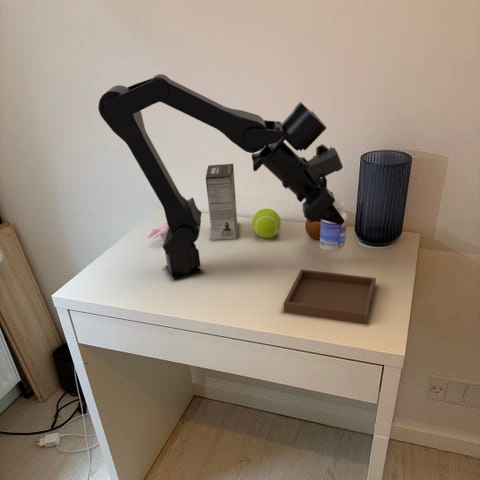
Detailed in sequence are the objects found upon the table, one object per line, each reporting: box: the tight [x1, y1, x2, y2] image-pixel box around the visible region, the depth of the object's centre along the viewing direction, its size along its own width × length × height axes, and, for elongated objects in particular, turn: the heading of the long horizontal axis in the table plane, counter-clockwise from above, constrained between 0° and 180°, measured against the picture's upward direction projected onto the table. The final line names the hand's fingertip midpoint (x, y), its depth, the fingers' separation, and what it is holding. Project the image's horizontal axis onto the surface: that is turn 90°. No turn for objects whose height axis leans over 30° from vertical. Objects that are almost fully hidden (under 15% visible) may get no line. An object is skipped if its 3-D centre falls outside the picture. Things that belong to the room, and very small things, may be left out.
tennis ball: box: [251, 208, 282, 239], centre depth 119 cm, size 7×7×7 cm
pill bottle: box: [319, 199, 348, 252], centre depth 103 cm, size 5×5×10 cm
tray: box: [283, 268, 377, 325], centre depth 95 cm, size 15×13×2 cm
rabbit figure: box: [147, 222, 169, 240], centre depth 122 cm, size 6×6×15 cm
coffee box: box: [205, 163, 238, 241], centre depth 120 cm, size 9×6×16 cm
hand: (340, 217), depth 102 cm, fingers closed on pill bottle, 5 cm apart
